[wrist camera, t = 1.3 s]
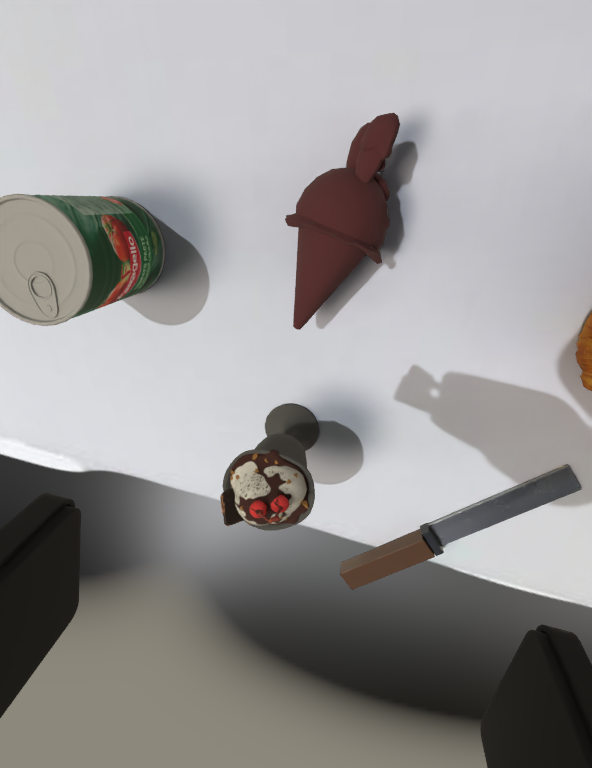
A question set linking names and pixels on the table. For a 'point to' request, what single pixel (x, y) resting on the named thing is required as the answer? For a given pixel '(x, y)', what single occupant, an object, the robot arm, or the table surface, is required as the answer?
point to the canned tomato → (74, 254)
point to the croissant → (585, 353)
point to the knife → (456, 527)
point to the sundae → (273, 474)
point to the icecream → (342, 218)
